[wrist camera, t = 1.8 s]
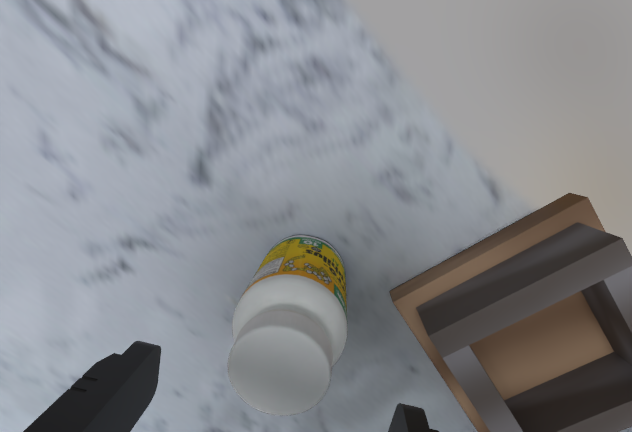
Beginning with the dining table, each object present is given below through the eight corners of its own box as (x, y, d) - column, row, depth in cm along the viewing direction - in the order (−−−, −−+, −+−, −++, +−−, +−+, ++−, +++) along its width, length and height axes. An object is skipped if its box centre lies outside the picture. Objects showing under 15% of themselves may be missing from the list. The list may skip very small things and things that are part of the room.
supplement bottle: (248, 263, 22) (179, 356, 13) (311, 216, 21) (286, 280, 12) (298, 323, 23) (268, 453, 13) (362, 280, 22) (377, 389, 12)
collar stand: (650, 349, 21) (731, 404, 17) (477, 424, 23) (507, 490, 19) (569, 192, 19) (635, 208, 15) (389, 291, 22) (401, 330, 17)
